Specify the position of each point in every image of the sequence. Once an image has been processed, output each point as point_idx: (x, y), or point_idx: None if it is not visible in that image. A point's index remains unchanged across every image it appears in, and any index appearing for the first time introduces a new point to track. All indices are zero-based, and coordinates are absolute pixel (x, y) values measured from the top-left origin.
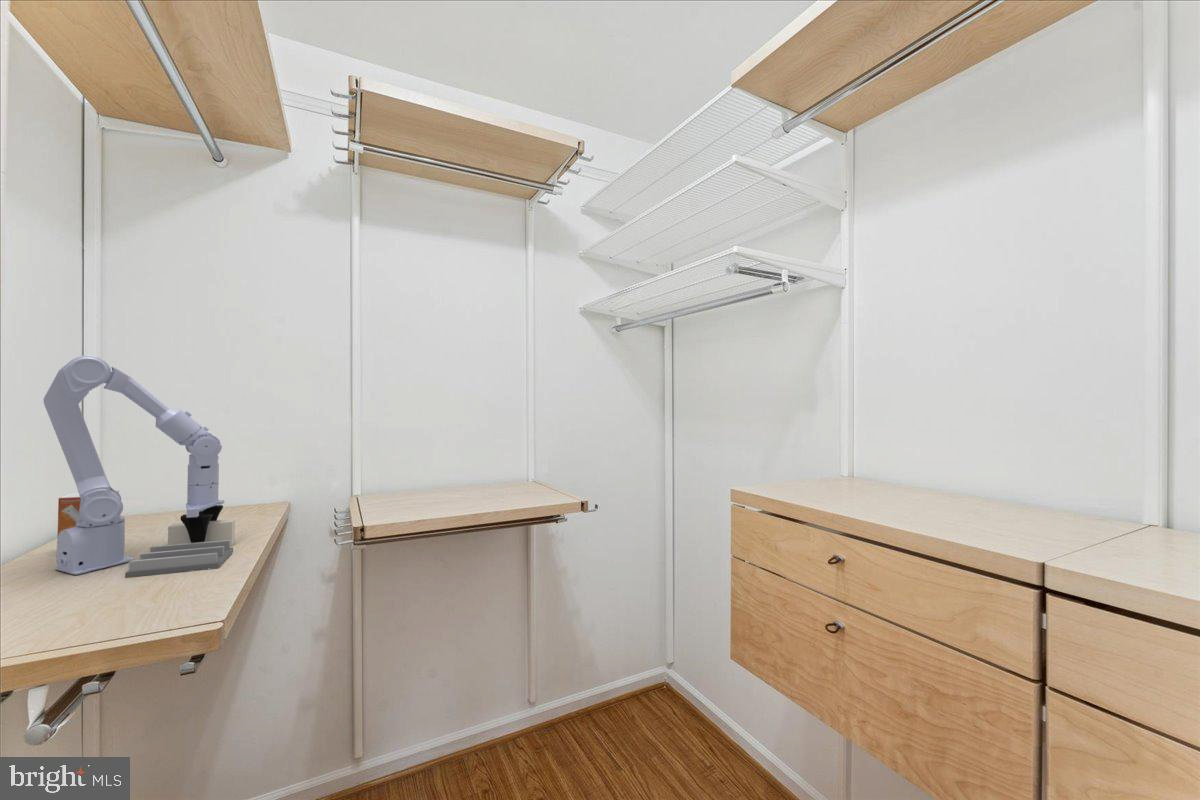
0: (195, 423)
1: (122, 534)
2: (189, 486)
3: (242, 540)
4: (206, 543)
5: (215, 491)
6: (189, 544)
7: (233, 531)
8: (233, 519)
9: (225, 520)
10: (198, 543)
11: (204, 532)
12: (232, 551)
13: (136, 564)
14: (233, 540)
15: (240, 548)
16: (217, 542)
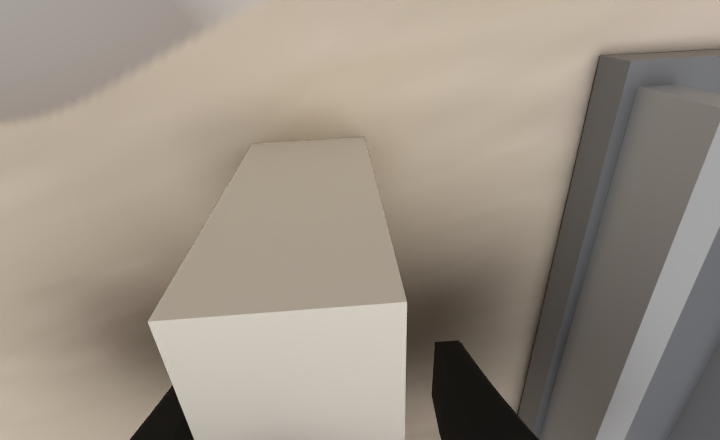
0: None
1: None
2: None
3: (159, 94)
4: (672, 305)
5: None
6: (636, 402)
7: (293, 198)
8: (162, 342)
9: (241, 428)
10: (656, 358)
11: (531, 431)
12: (636, 55)
13: None
14: (293, 154)
15: (488, 18)
16: (711, 222)
